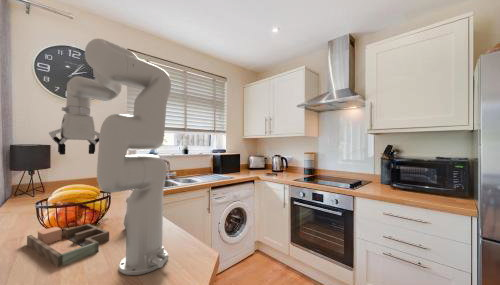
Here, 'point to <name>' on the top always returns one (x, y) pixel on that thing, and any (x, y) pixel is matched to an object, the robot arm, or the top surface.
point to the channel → (80, 235)
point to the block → (50, 235)
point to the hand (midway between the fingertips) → (77, 154)
